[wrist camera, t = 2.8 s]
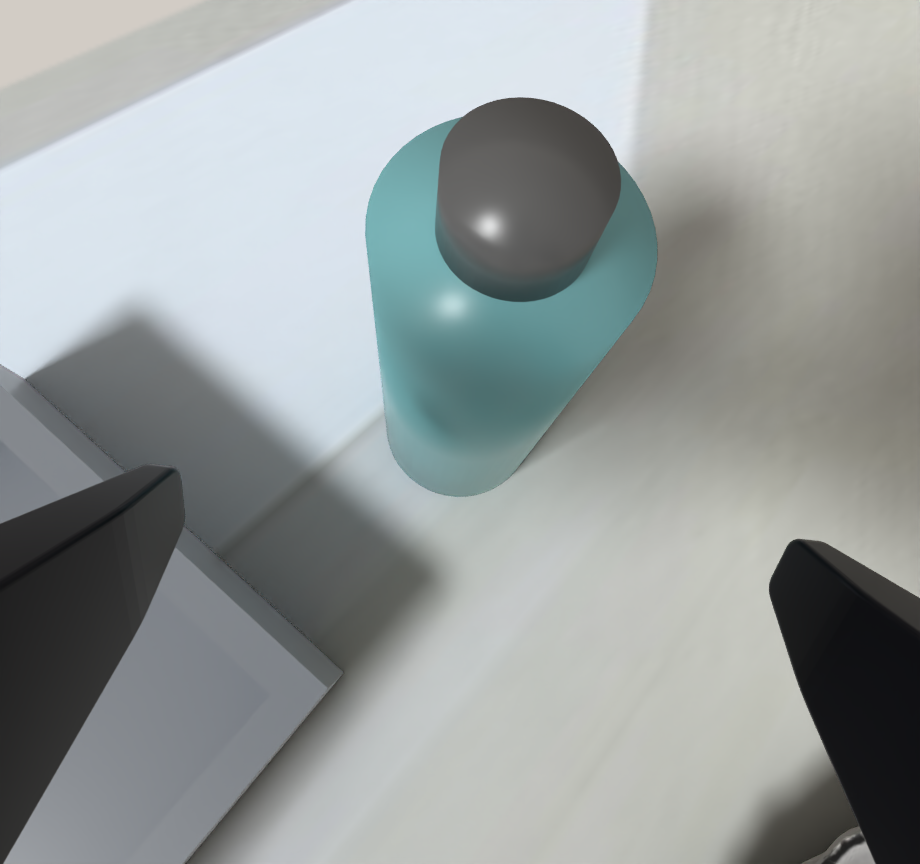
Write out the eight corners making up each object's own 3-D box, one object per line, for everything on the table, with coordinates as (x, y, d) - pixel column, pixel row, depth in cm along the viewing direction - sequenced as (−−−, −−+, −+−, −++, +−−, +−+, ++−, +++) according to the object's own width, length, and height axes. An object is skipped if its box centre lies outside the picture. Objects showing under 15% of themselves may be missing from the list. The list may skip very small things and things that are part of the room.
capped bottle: (557, 419, 22) (757, 167, 9) (468, 527, 20) (565, 397, 8) (450, 333, 22) (504, -10, 10) (355, 432, 21) (283, 173, 9)
